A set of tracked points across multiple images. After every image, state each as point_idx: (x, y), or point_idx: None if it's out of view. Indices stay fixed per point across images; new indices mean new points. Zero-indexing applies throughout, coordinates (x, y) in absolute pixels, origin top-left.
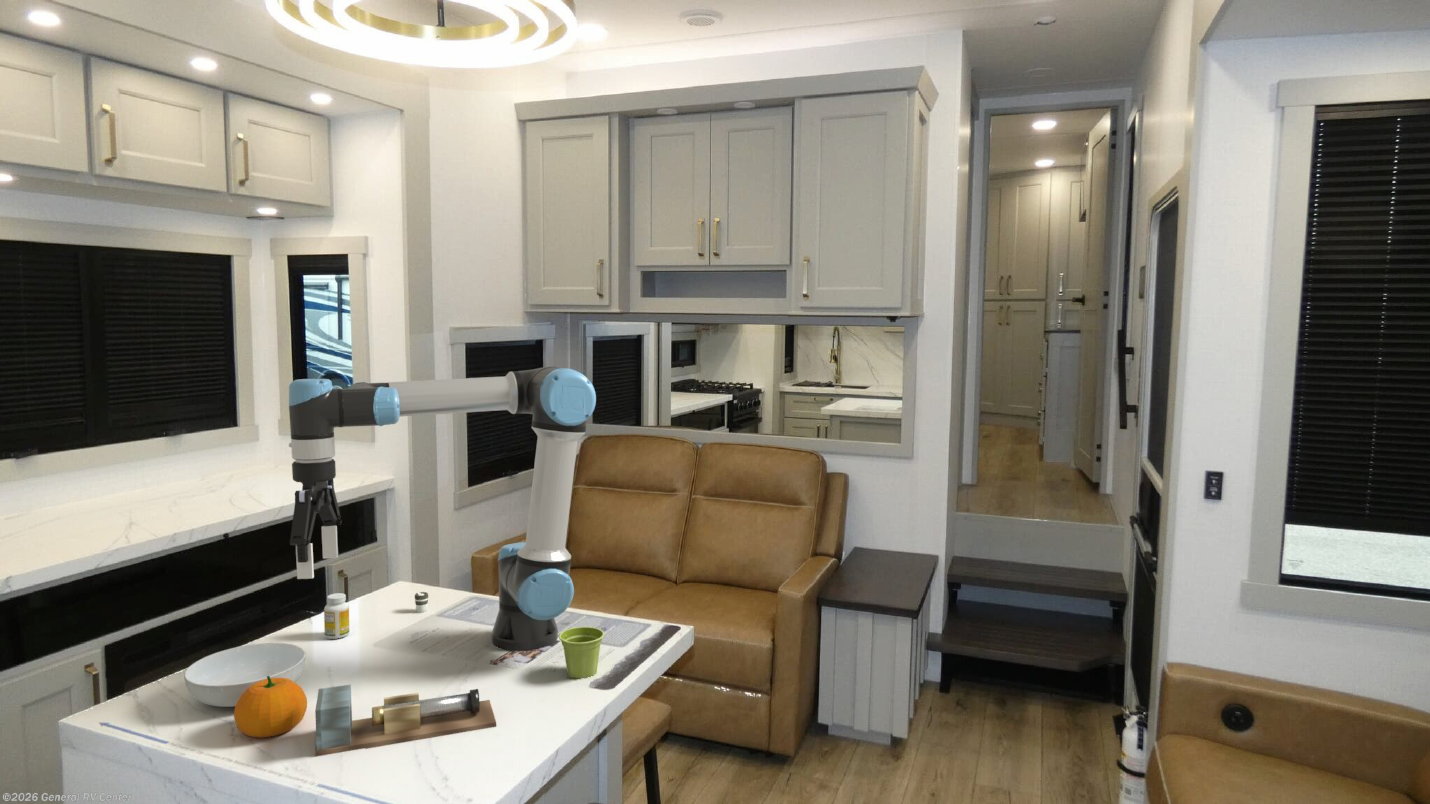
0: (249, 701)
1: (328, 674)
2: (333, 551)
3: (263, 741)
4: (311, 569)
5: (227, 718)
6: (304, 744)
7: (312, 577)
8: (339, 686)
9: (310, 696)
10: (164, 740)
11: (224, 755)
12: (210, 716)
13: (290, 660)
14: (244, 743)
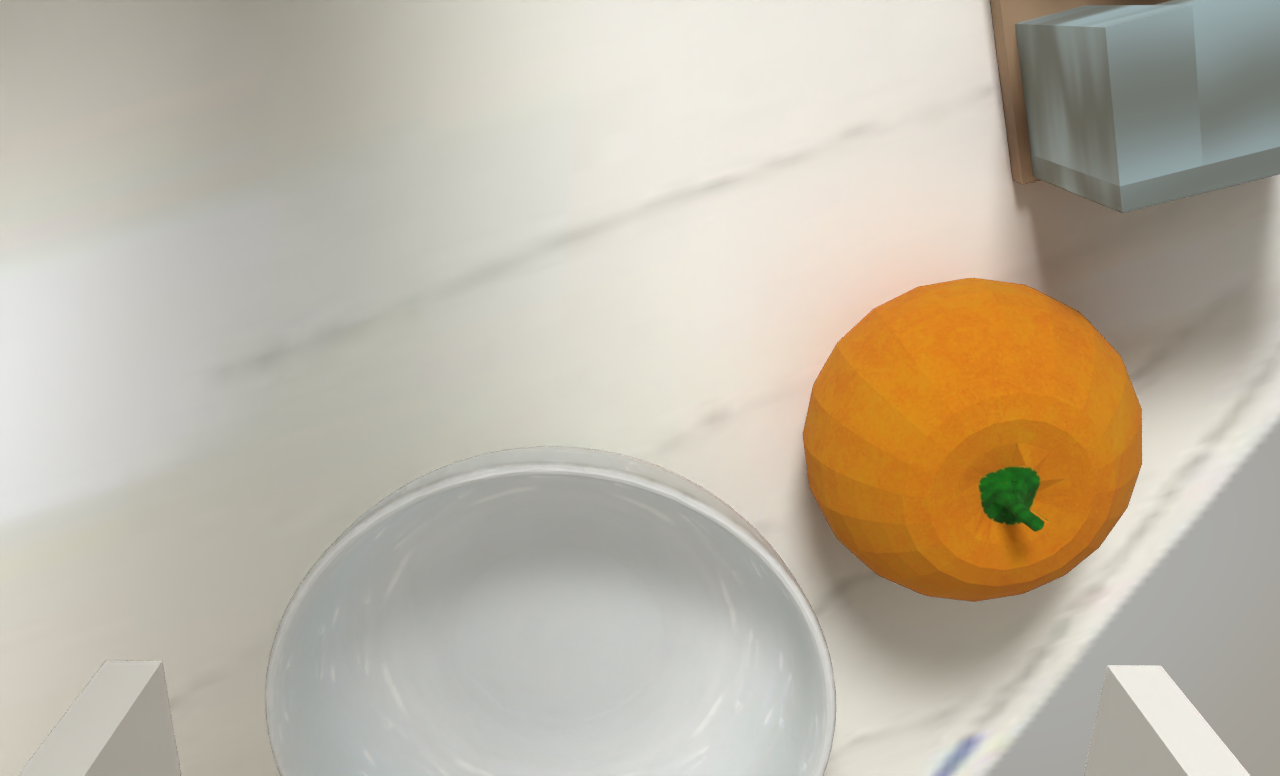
0: (1107, 533)
1: (324, 345)
2: (125, 768)
3: None
4: (1227, 757)
5: None
6: None
7: (1164, 674)
8: (1117, 95)
9: (601, 348)
10: (953, 754)
11: (1147, 499)
12: None
13: (353, 556)
14: None
